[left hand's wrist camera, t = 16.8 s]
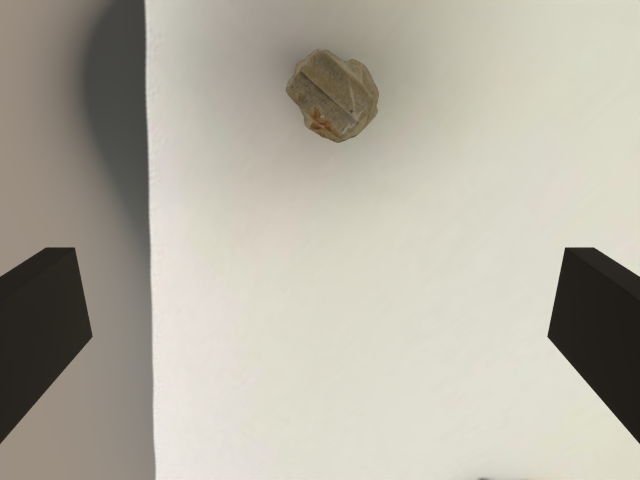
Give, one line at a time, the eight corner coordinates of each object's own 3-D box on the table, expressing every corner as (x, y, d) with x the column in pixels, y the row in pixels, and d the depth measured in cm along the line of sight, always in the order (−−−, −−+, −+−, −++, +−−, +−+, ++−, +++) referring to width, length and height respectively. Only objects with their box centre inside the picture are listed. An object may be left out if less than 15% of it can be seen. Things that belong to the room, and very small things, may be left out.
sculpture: (329, 38, 39) (335, 19, 25) (385, 100, 41) (418, 114, 27) (282, 87, 41) (263, 95, 27) (338, 145, 43) (347, 182, 28)
